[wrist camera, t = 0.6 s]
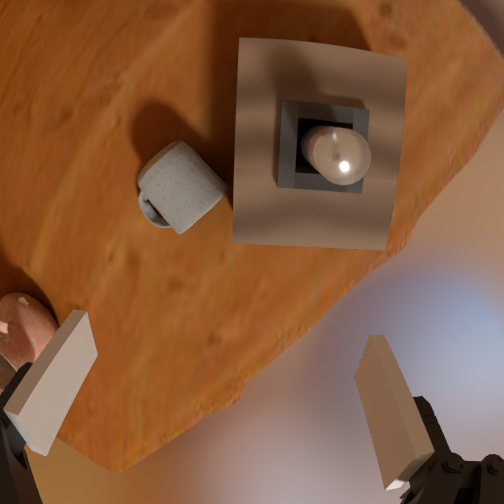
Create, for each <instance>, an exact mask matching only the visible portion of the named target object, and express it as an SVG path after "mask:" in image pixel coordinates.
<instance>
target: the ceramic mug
mask: <svg viewBox="0 0 504 504" xmlns="http://www.w3.org/2000/svg"><path fill="white" fill-rule="evenodd" d="M137 183H138V185H139V187H140V189H141V192H140V194H139V205H140V208H141V210H142V212H143V214H144V215H145V217H146V218H147V219H148V220H149V221H150V222H151V223H152V224H154V225H155V226H157V227H161V228H169V227H172V228H173V229H174V230H175V232H176V233H178V234H181V233H183V232H184V231H185V230H187V229H188V228H189V227H191V226H192V225H193V224H194V223H195V222H196V221H197V220H198V219H200V218H201V217H202V216H203V215H204V214H205V213H206V212H207V211H209V210H210V209H211V208H212V207H213V206H214V205H215V204H216V203H217V202H218V201H219V200H220V199H221V198H222V197H223V196H224V195H225V194H226V193H227V191H228V190H229V187H228V186H227V185H226V183H225V182H224V181H223V180H222V179H221V178H220V177H219V176H218V175H217V174H216V173H215V172H214V171H213V170H212V169H211V168H210V167H209V165H208V164H206V163H205V162H204V160H203V159H202V158H201V157H200V156H199V155H198V154H197V153H196V152H195V151H194V150H193V149H192V148H191V147H190V146H189V145H187V144H186V143H185V142H183V141H175V142H172V143H171V144H169V145H167V146H166V147H165V148H163V149H162V150H161V151H160V152H158V153H157V154H156V155H155V156H154V157H153V158H152V159H151V160H150V161H149V162H148V163H147V164H146V165H145V166H144V167H143V169H142V170H141V171H140V173H139V174H138V177H137ZM147 198H148V199H147ZM148 200H149V201H150V202H151V203H152V204H153V205H154V206H155V207H156V209H157V210H158V211H159V212H160V214H161V215H162V216H163V217H164V219H163V218H161V217H160V216H159V215H158V214H157V213H156V212H155V211H154V209H153V208H152V207H151V205H150V203H149V202H148Z"/></svg>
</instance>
